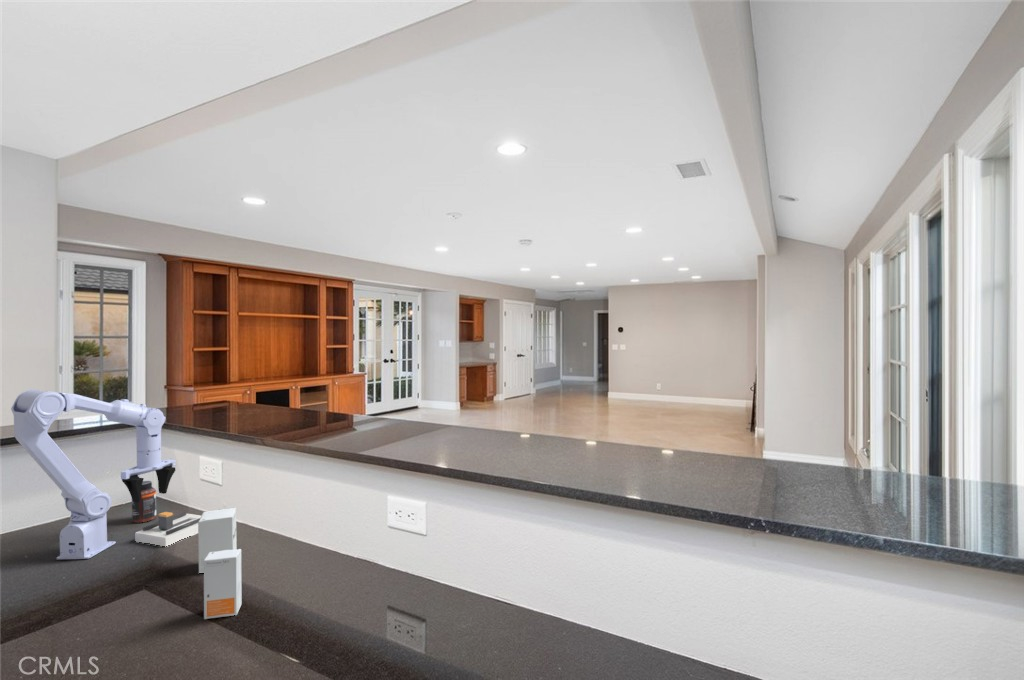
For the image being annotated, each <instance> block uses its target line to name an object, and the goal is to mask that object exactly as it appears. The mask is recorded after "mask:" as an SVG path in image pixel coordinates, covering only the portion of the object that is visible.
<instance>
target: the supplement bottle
mask: <svg viewBox="0 0 1024 680" xmlns="http://www.w3.org/2000/svg"><path fill="white" fill-rule="evenodd" d="M152 483H153V482H152V481H151V480H143V482H142V487H141V501H140V502H133V500H132V499H131V517H132V522H133V523H136V524H139V523H142V522H143V523H147V521H148V522H151V521H153V520H155V519H156V518H157V490H156V488H154V487H153V484H152ZM150 520H151V521H150Z"/></svg>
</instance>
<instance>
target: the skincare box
mask: <svg viewBox="0 0 1024 680" xmlns="http://www.w3.org/2000/svg"><path fill="white" fill-rule="evenodd" d="M242 589H243V588H242V548H238V549H235V550H223V551H216V552H209V554H208V555H207V557H206V558H205V560H204V574H203V619H204V620H208V619H216V618H222V617H230V616H231V617H234V615H235V616H237V615H238V614H239V610H240V608H241V606H242V604H243V603H242V601H243V600H242V598H243V597H242V596H243V595H242Z"/></svg>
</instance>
